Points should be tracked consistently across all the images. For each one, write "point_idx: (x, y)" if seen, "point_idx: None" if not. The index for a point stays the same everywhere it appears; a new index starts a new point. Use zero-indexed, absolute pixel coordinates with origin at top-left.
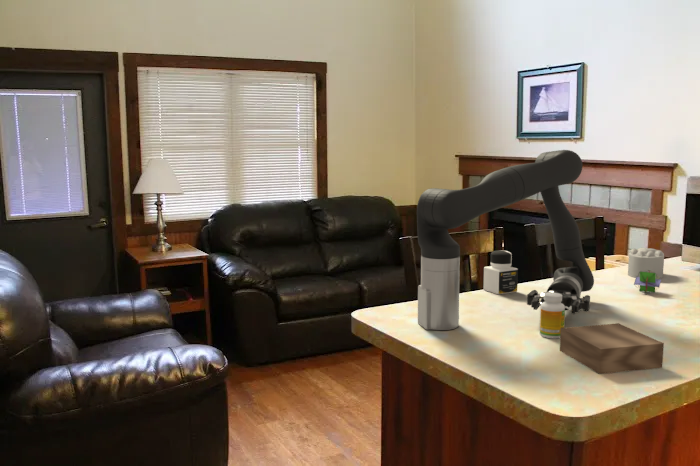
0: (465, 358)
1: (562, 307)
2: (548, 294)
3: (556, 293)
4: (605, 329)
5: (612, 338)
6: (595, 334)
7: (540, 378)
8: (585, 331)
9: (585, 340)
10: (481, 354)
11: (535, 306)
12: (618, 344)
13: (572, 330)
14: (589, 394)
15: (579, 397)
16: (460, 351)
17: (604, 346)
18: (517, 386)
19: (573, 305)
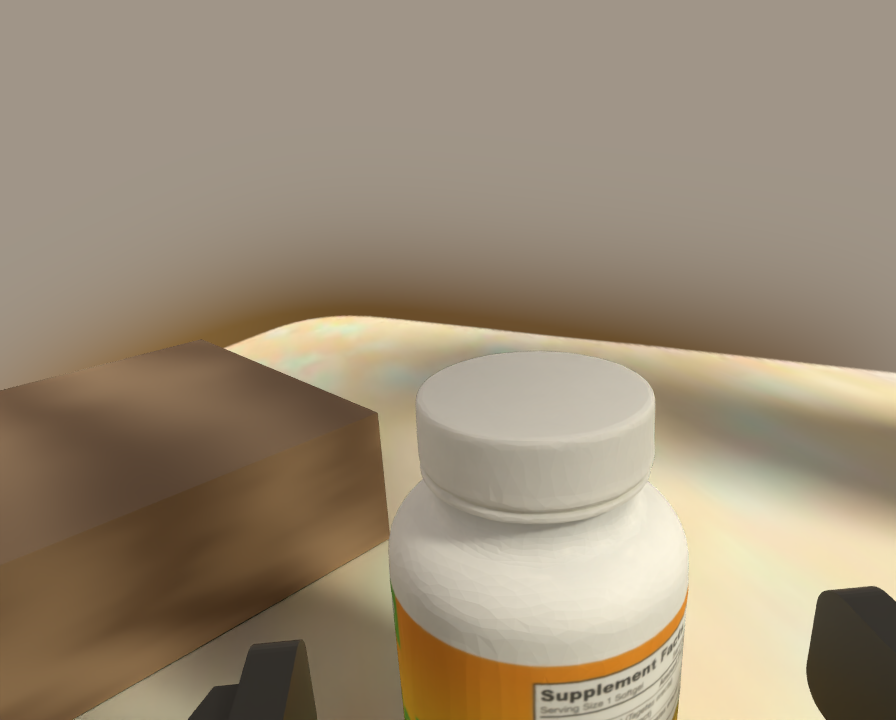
0: (687, 378)
1: (406, 497)
2: (578, 371)
3: (511, 419)
4: (76, 476)
5: (100, 404)
6: (179, 410)
7: (407, 371)
8: (230, 421)
9: (249, 363)
10: (674, 407)
11: (824, 644)
12: (103, 374)
13: (306, 411)
14: (271, 361)
15: (297, 350)
16: (760, 400)
17: (178, 352)
18: (449, 340)
19: (276, 643)
